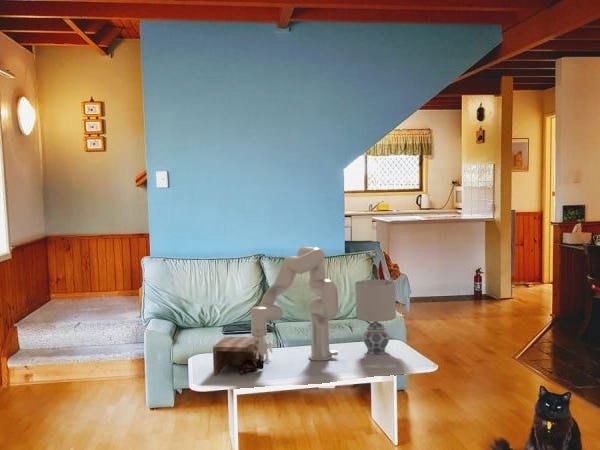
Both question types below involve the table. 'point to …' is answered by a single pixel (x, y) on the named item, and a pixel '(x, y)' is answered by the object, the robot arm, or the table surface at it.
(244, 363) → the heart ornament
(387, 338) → the lamp
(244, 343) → the open wooden box
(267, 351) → the cream tall piece
